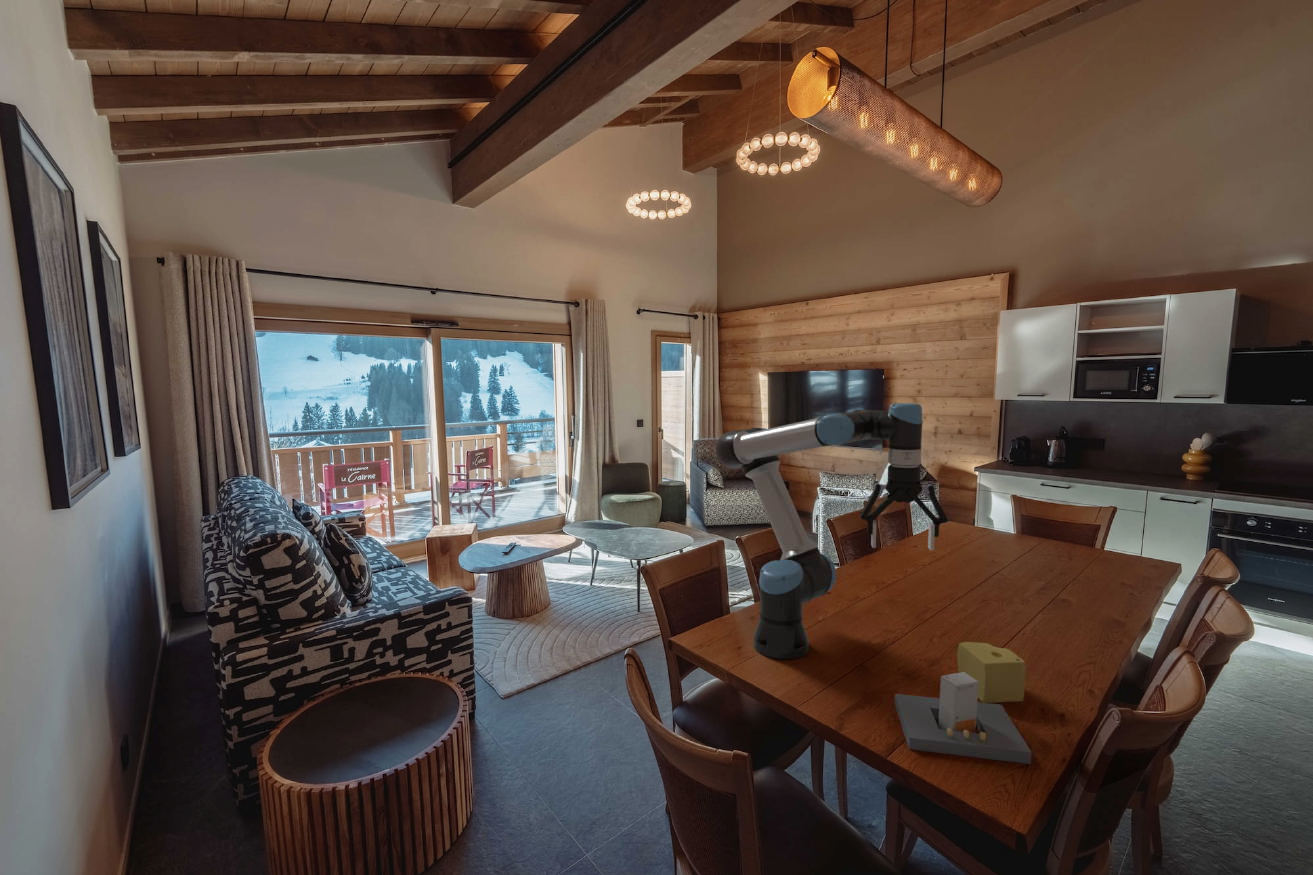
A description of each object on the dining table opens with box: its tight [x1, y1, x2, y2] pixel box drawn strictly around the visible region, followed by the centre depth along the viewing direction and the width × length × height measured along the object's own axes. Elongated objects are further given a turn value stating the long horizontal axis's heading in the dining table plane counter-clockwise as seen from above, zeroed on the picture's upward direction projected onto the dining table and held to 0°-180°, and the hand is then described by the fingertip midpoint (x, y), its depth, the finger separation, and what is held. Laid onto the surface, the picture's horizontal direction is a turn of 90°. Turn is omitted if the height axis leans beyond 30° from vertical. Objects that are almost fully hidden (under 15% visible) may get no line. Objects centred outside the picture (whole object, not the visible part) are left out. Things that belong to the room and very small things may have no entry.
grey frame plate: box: [894, 693, 1032, 765], centre depth 119 cm, size 22×16×4 cm
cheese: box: [957, 641, 1027, 704], centre depth 133 cm, size 10×11×10 cm
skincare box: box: [937, 672, 979, 733], centre depth 118 cm, size 6×4×12 cm
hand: (901, 547), depth 142 cm, fingers open, 13 cm apart
